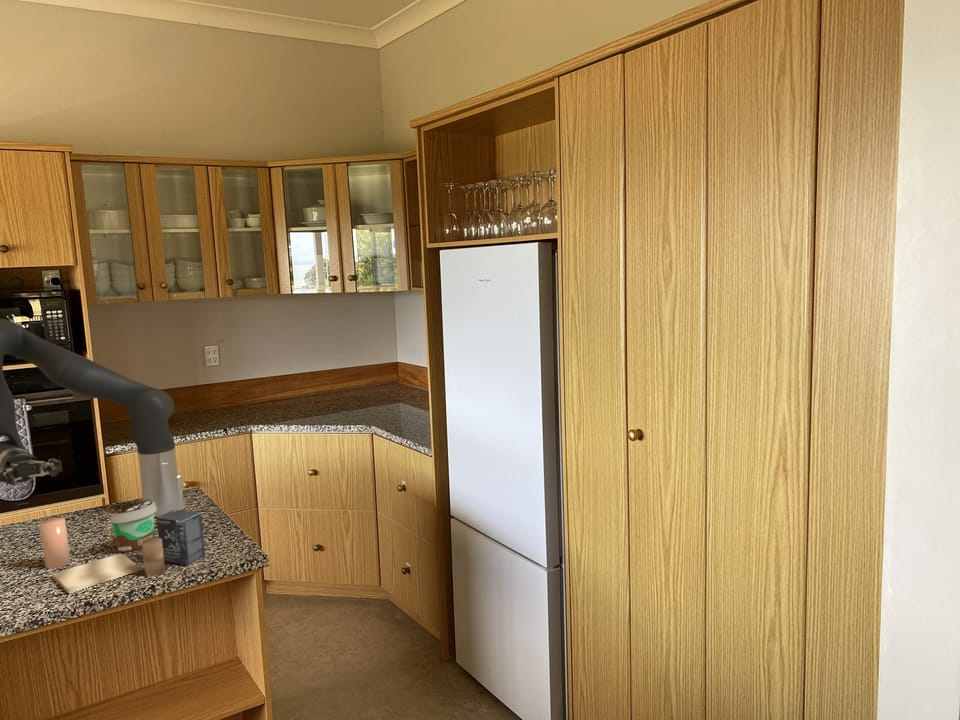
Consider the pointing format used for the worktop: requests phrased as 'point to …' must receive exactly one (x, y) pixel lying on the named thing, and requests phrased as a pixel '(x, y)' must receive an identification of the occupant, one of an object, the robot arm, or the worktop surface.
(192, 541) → the box
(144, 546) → the walnut cylinder
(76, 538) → the worktop surface
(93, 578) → the birch board
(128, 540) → the food container
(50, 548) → the salmon orange cylinder
